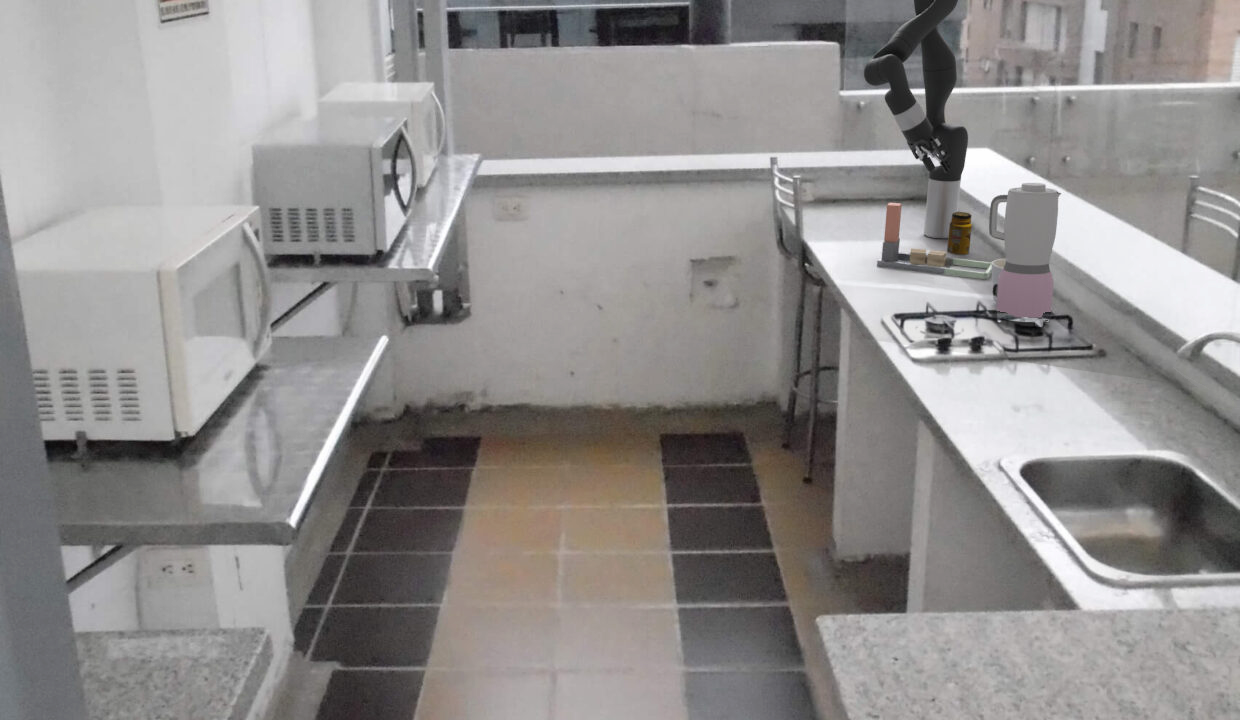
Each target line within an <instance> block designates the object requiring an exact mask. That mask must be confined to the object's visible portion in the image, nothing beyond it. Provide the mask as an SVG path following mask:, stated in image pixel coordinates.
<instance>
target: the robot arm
mask: <svg viewBox="0 0 1240 720" xmlns="http://www.w3.org/2000/svg"><path fill="white" fill-rule="evenodd" d="M958 2H959V0H913V5H914V12H915V17H912V18H911V19H909V20H908V21H906V22H905V23H903V24H902V25H901V26H900V27H898V29H896V31H895V32H894V34H893V35H892V36H891V37H890V38H889V40H888V42H887V43H886V44H885V45H884V46H883V47H882V48H881V49H879V50H878V51H877V52H876V53H874V55H873V56H872V57H871V58H869V60H868V61H867V63H866V64H865V66H864V69H863V70H864V71H863V77H864V80H865V82H866V83H867V84H869V85H870V86H872V87H873V86H874V87H878V86H882V85H884V84H885V85H886V84H889V87H890V89H889V90H888V91H887V92H886V93H885V95H884V101H885V104H886V105H887V106H888V108H889V110H890V112H891V114H892V116H893V118H894V120H895V122H896V124H897V126H898V128H899V130H900V131H901V133H902V135H903V136H904V139H905V140H906V144H907V146H908V147H909V149H910V151H911V152H912V155H913V157H914V158H915V160H919V161H920V162H922V163H923V165H924V167H925V169H926V171H927V172H928V185H927V193H926V195H927V197H926V206H925V215H924V227H923V235H924V236H925V235H926V237H929V238H932V239H933V238H934V239H948V236H949V226H950V223H951V221H952V220H951V219H952V214H953V213H955V212H959V201H960V192H961V181H962V174H963V172H964V170H965V164H966V157H967V151H968V144H969V134H968V131H967V129H966V127H965V126H963V125H960V124H953V123H947V122H946V116H945V109H946V104H947V102H948V99H949V98H950V96H951V94H952V93H953V91H954V88H955V86H956V83H957V81H958V80H957V79H958V78H957V77H958V75H957V64H956V63H957V61H956V60H957V59H956V55H955V53H954V51H953V49H952V48H951V47H950V45H949V44H948V42H947V41H946V39H945V38H944V37H943V35H942V33H941V31H940V30H939V27H938V25H940V24H941V23H942V22H943V21H944V20H945V19H946V18H947V17H948V16H949V15H951V14H952V12H953V11H954V10H955V9H956V7H957V5H958ZM919 45H920V51H921V52H920V53H921V60H922V61H921V63H922V65H921V68H922V76H923V85H924V97H925V111H924V109H923V108H922V106H921V105H920V104H919V103H918V101H917V100H916V98H915V96H914V94H913V92H912V90H911V89H910V85H909V81H908V77H907V74H906V70H905V66H904V64H903V63H905V62H906V61H907V60H908V59H909V58H910V57H911V56H912V54H913V53H914V52H915V50H916V48H917V47H918V46H919ZM932 158H933V159H936V160H937V161H938V163H939V164H940V165H936V166H935V164H934V162H933V160H932Z"/></svg>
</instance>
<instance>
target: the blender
mask: <svg viewBox="0 0 1240 720" xmlns="http://www.w3.org/2000/svg"><path fill="white" fill-rule="evenodd" d="M1061 195H1062V192H1059V191H1058V190H1057V189H1053V188H1048V187H1047V186H1046V184H1045V183H1041V182H1024V183H1023V182H1022V183H1021V187H1019V186H1018V187H1012V188H1009V189H1008V191H1007V194H999V195H996V196H995V197H994V198H992V200H991V202H990V206H989V221H988V232H989V235H990V237H992V238H994V239H997V240H1001V241H1004V251H1005V259H1006V264H1005V266H1004V269H1003V270H1002V272H1001V274H1000V275H999V281H998V284H995V285H994V287H993V286H992V296H993V295H994V296H996V297H997V303H996V310H995V312H996V311H1000V312H1006V313H1008V314H1009V315H1013V316H1015V318H1020V317H1028V318H1038V319H1042V315H1043V313H1045V312H1051V313H1052V302H1053V293H1054V278H1053V273H1052V271H1051V269H1050V260H1051V255H1052V253H1053V248H1054V244H1055V239H1056V235H1057V227H1058V226H1057V225H1058V215H1059V197H1060V196H1061ZM1000 203H1006V205H1005V212H1004V213H1005V214H1004V225H1003V229H1004V230H1003V232H1002V231H998V229H997V228H998V227H997V225H998V209H999V205H1000ZM1045 321H1048V320H1045Z"/></svg>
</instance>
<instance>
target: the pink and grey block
mask: <svg viewBox="0 0 1240 720" xmlns="http://www.w3.org/2000/svg"><path fill="white" fill-rule="evenodd" d="M902 207H903V206H902V203H899V202H897V203H896V202H888V204H886V214H885V227H884V237H883V242H882V247H881V248H882V251H881V260H888V261H897V260H898V254H899V252H900V230H901V229H900V228H901V227H900V226H901V216H902Z"/></svg>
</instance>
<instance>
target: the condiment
mask: <svg viewBox="0 0 1240 720" xmlns="http://www.w3.org/2000/svg"><path fill="white" fill-rule="evenodd" d="M951 220H952V221H951V223H950V226H949V236H948V238H947V247H946V253H949V254H951V255H952V254H953V255H968V254H969V252H970V245H971V235H972V229H973V228H972V227H973V225H972V214H971V213H969V212H966V211H965V212H963V211H958V212H955V213H953V214H952V219H951Z"/></svg>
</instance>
